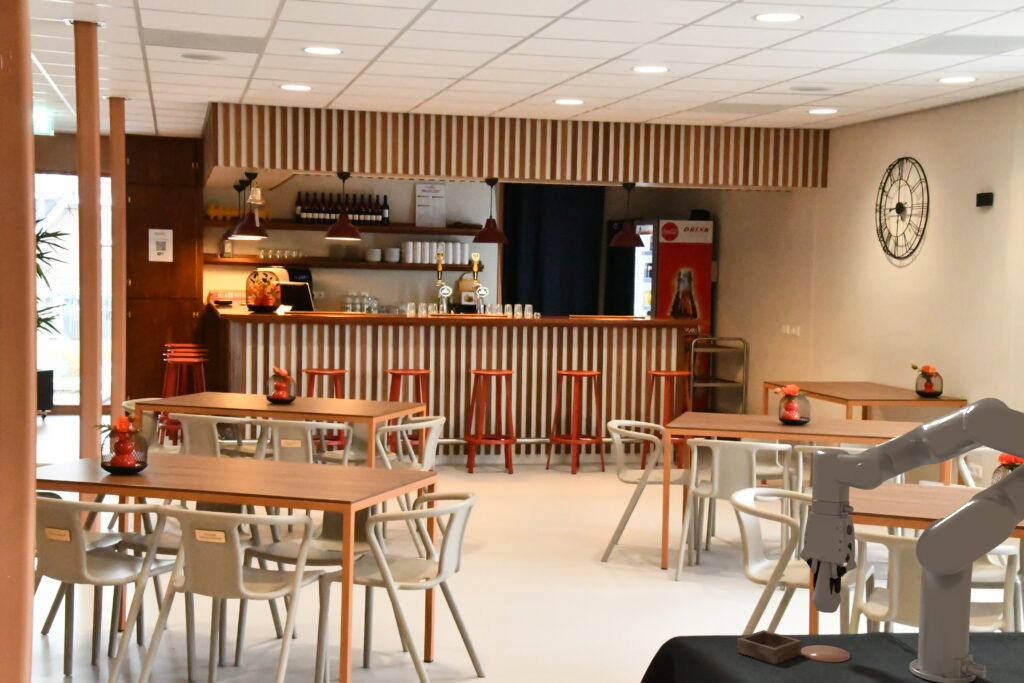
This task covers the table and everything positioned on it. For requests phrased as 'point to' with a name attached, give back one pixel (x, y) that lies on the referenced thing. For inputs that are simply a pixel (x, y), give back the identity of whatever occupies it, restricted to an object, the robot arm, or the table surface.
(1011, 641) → the table surface
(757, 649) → the square wooden frame
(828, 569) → the salt shaker
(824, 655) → the orange round disc
